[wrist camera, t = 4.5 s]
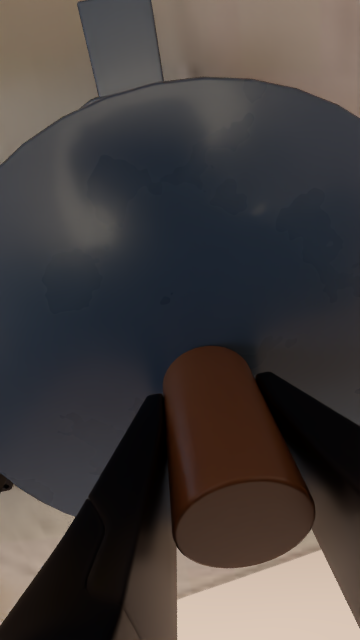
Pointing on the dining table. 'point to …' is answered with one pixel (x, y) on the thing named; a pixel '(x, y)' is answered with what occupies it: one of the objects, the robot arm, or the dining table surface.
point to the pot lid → (181, 298)
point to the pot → (120, 44)
